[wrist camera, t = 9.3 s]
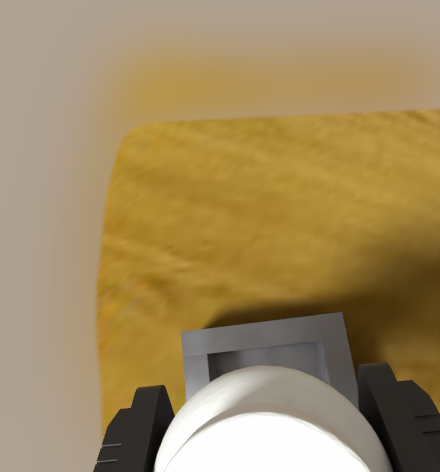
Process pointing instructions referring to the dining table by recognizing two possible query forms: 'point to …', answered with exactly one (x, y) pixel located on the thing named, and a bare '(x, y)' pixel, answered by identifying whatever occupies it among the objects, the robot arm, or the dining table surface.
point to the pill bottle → (270, 427)
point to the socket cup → (273, 351)
